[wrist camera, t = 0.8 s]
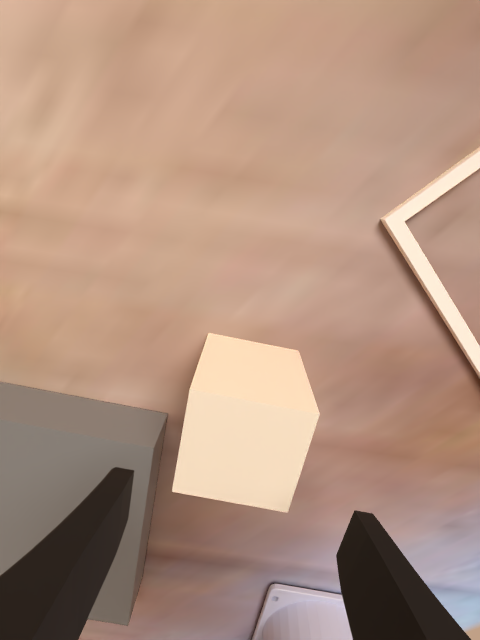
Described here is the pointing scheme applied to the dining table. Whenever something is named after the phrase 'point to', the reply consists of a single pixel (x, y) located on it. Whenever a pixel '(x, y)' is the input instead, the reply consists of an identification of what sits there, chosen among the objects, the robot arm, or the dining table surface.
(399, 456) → the dining table surface
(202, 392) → the cream block
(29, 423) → the base plinth
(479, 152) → the photo frame
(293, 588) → the robot arm
